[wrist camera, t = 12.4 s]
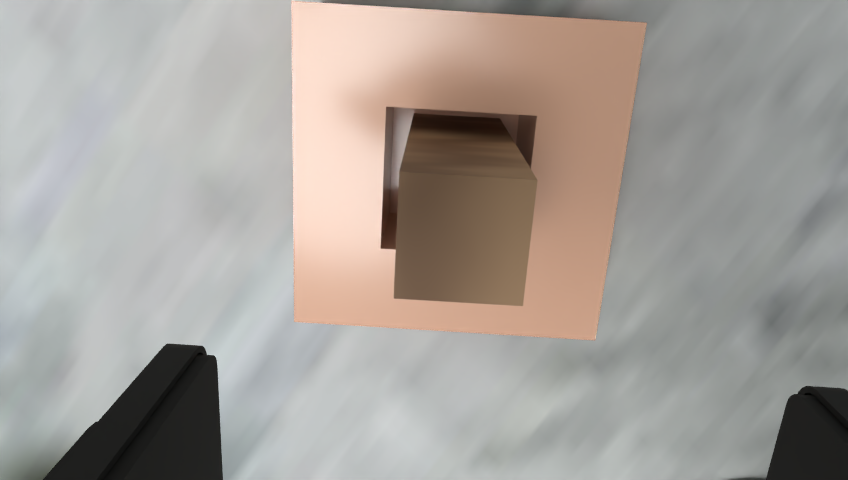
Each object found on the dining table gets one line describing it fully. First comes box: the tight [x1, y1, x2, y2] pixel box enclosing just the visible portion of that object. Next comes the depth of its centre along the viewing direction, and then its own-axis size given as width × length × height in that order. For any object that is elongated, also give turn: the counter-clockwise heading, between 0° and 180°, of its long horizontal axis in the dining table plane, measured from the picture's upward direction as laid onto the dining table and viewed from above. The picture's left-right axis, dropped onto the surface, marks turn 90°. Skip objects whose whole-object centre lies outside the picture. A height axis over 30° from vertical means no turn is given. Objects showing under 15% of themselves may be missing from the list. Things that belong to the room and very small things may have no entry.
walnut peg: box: [394, 113, 538, 306], centre depth 25 cm, size 4×4×12 cm
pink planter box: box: [291, 1, 647, 340], centre depth 29 cm, size 13×13×6 cm
